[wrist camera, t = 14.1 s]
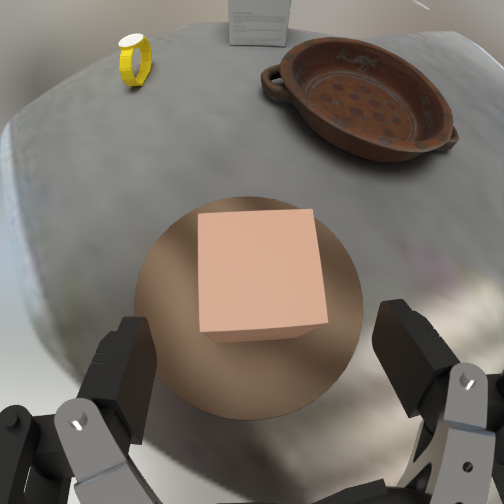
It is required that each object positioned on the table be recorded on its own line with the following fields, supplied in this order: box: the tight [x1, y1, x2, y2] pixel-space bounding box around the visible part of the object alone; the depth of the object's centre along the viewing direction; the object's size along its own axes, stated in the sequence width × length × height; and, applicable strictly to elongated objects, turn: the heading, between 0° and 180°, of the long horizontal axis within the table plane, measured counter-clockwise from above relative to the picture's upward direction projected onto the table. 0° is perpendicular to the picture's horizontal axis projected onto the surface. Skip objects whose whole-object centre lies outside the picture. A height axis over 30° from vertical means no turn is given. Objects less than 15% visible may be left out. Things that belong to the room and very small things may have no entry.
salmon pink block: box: [198, 209, 328, 343], centre depth 17 cm, size 5×5×8 cm
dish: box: [261, 37, 459, 162], centre depth 26 cm, size 18×22×5 cm
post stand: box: [134, 197, 363, 420], centre depth 18 cm, size 16×16×7 cm
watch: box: [119, 34, 152, 86], centre depth 27 cm, size 6×3×6 cm, turn 174°
